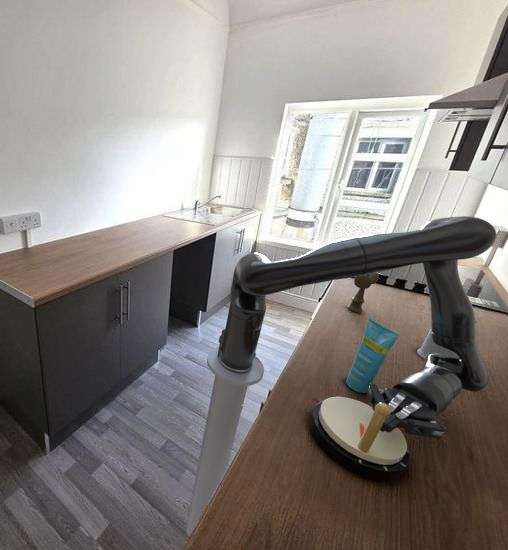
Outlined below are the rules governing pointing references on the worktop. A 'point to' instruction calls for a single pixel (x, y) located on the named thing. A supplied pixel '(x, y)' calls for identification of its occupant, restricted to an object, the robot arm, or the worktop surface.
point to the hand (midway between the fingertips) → (380, 425)
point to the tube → (370, 355)
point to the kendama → (362, 290)
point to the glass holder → (433, 347)
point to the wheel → (362, 430)
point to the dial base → (352, 461)
